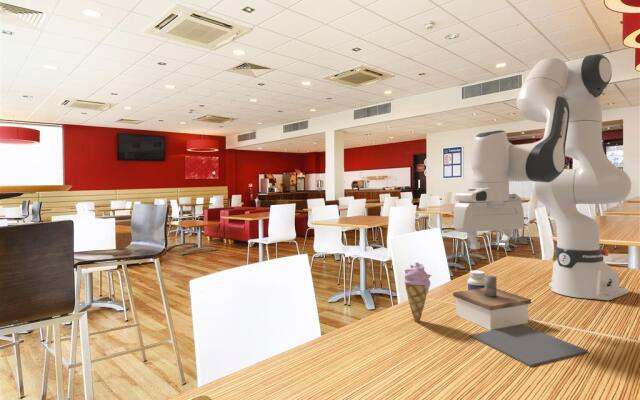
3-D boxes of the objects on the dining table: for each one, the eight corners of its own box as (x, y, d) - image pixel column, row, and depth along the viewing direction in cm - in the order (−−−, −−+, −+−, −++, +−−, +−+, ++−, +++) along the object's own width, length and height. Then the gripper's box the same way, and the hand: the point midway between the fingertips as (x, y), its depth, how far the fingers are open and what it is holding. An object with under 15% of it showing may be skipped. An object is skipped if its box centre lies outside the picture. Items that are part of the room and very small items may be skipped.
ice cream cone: (432, 318, 100) (431, 261, 100) (431, 326, 94) (430, 266, 94) (406, 316, 102) (405, 260, 102) (403, 324, 96) (403, 265, 96)
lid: (490, 290, 107) (490, 269, 107) (531, 303, 95) (530, 279, 95) (453, 296, 103) (453, 274, 102) (490, 310, 90) (490, 285, 90)
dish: (490, 308, 107) (490, 291, 107) (527, 322, 96) (527, 303, 95) (456, 314, 103) (455, 296, 102) (490, 330, 91) (490, 309, 91)
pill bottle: (489, 308, 107) (489, 274, 107) (469, 307, 108) (469, 273, 108) (485, 302, 112) (485, 270, 112) (466, 302, 113) (465, 269, 113)
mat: (522, 326, 94) (522, 324, 94) (588, 352, 79) (588, 350, 79) (470, 336, 88) (470, 334, 88) (530, 366, 73) (530, 364, 73)
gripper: (510, 193, 104) (510, 243, 105) (449, 194, 97) (449, 248, 98) (530, 193, 98) (530, 247, 99) (467, 194, 91) (467, 252, 92)
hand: (489, 247), depth 98 cm, fingers open, 8 cm apart
